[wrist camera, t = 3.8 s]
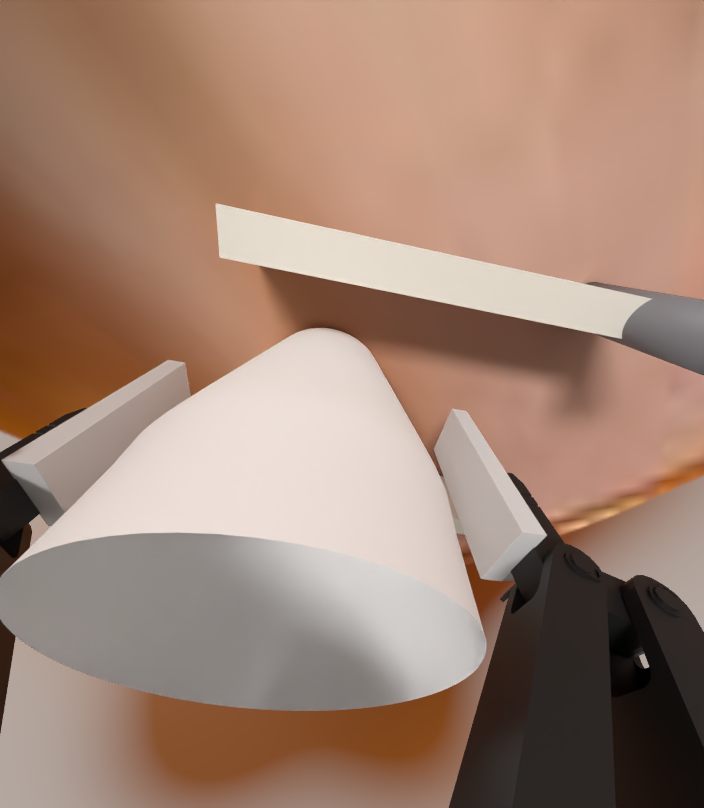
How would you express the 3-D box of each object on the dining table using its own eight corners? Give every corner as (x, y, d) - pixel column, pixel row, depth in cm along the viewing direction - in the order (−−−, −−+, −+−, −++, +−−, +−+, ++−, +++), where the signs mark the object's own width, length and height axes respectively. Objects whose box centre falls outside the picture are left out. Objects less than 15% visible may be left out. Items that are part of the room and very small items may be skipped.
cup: (213, 344, 14) (-153, 601, 4) (367, 270, 12) (416, 413, 2) (296, 457, 18) (221, 720, 8) (419, 416, 16) (520, 699, 6)
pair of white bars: (257, 466, 19) (220, 548, 14) (253, 206, 11) (162, 175, 6) (476, 497, 20) (515, 582, 15) (616, 286, 12) (799, 317, 7)
